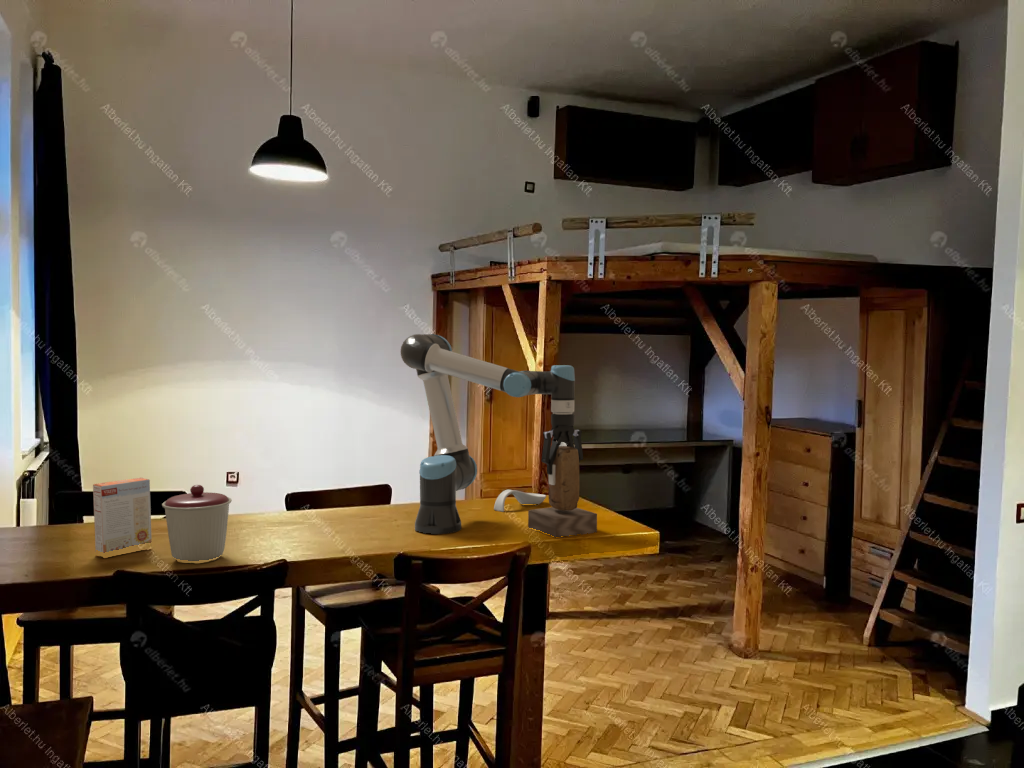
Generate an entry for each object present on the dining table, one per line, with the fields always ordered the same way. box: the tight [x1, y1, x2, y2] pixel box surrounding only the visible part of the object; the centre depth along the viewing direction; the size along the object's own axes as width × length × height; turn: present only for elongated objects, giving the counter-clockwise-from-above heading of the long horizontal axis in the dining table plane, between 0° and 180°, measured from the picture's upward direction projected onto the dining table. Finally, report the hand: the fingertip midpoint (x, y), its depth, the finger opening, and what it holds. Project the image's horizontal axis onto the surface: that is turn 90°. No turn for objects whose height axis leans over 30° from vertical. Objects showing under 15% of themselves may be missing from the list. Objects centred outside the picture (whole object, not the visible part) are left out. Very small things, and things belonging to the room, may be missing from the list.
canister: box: [161, 484, 232, 561], centre depth 226 cm, size 18×18×21 cm
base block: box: [527, 506, 598, 538], centre depth 263 cm, size 16×16×6 cm
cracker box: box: [92, 477, 152, 553], centre depth 233 cm, size 14×6×21 cm, turn 141°
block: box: [547, 445, 580, 510], centre depth 262 cm, size 11×8×20 cm
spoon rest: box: [493, 489, 547, 512], centre depth 301 cm, size 24×12×7 cm, turn 139°
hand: (562, 483), depth 262 cm, fingers closed on block, 7 cm apart
